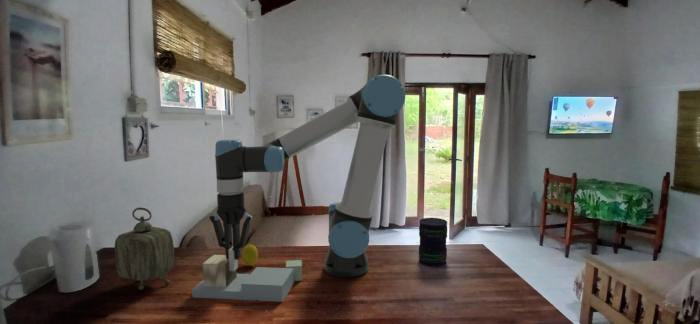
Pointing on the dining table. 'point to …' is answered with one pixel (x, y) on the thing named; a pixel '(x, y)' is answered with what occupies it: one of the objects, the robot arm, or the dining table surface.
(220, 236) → the robot arm
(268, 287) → the stair
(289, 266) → the sage cube
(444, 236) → the storage jar
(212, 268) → the birch cube
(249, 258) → the lemon
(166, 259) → the tabletop clock
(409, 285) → the dining table surface
